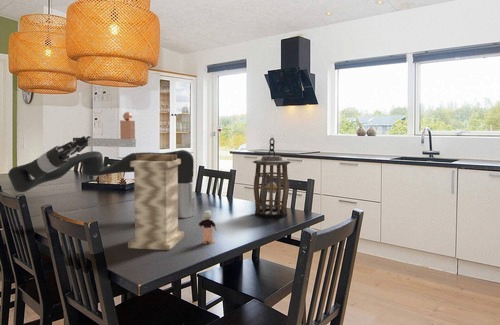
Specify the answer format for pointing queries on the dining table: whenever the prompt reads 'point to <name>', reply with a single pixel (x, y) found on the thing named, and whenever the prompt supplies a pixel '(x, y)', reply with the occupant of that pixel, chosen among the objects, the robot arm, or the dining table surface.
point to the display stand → (156, 202)
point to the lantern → (271, 186)
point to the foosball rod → (125, 135)
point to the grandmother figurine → (207, 228)
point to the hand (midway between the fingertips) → (88, 138)
